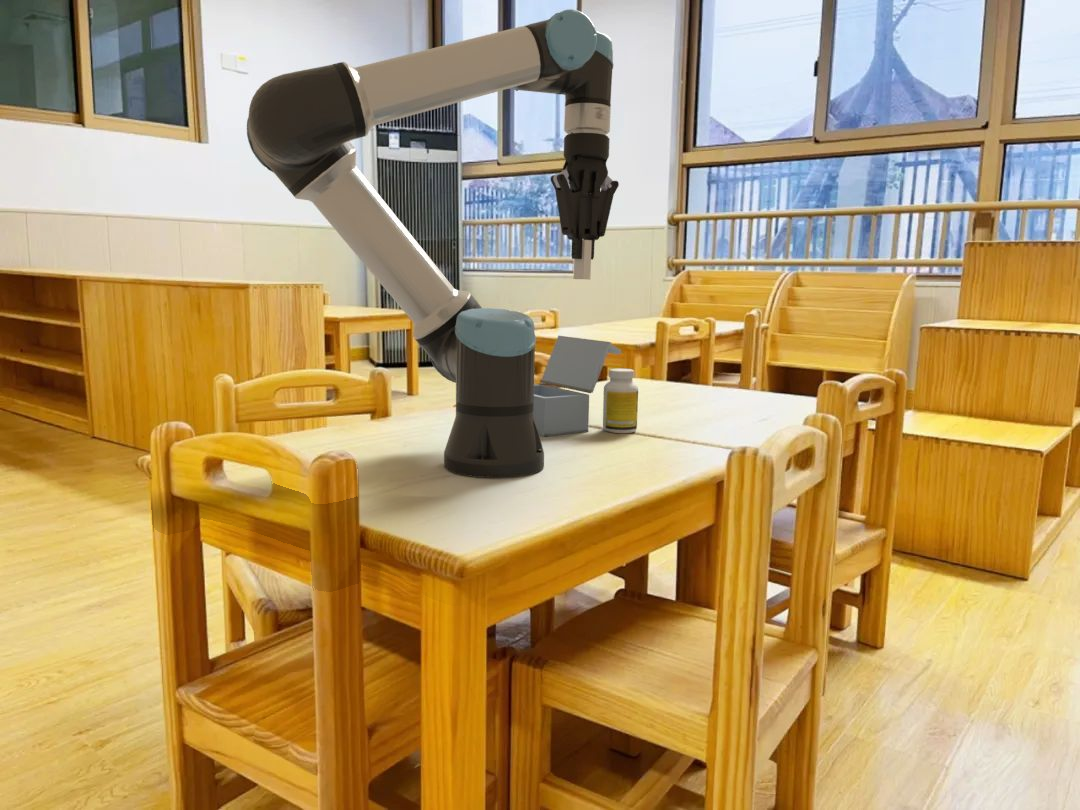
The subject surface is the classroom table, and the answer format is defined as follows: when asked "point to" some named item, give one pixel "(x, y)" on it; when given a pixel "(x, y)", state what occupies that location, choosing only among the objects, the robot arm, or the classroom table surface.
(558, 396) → the box
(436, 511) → the classroom table surface
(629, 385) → the pill bottle
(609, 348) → the lid
